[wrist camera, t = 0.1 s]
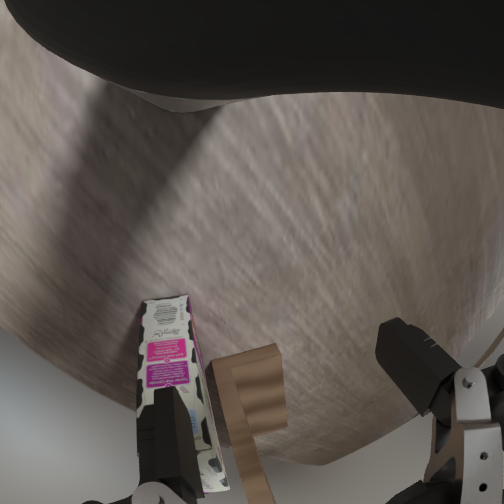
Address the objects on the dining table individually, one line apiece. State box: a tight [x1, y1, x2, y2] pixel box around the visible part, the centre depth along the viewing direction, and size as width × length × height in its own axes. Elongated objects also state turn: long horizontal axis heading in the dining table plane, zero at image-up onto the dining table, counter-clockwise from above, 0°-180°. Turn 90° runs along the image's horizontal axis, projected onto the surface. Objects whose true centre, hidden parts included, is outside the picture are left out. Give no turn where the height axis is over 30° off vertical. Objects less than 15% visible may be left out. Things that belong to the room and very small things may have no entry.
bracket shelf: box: [211, 343, 288, 504], centre depth 25 cm, size 20×12×32 cm, turn 8°
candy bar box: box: [136, 294, 230, 494], centre depth 23 cm, size 11×5×16 cm, turn 2°
